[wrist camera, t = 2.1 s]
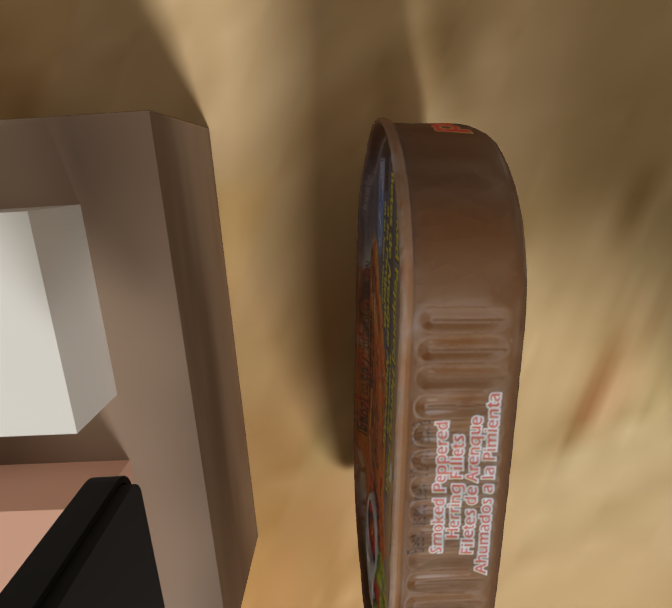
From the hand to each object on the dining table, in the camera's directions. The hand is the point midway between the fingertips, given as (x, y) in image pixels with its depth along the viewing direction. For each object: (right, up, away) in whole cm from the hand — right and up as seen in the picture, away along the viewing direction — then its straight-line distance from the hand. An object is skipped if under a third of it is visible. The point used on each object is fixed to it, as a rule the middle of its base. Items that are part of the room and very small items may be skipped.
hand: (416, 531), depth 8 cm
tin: (+1, +2, +10) cm, 10 cm away
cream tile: (-10, +4, +4) cm, 11 cm away
